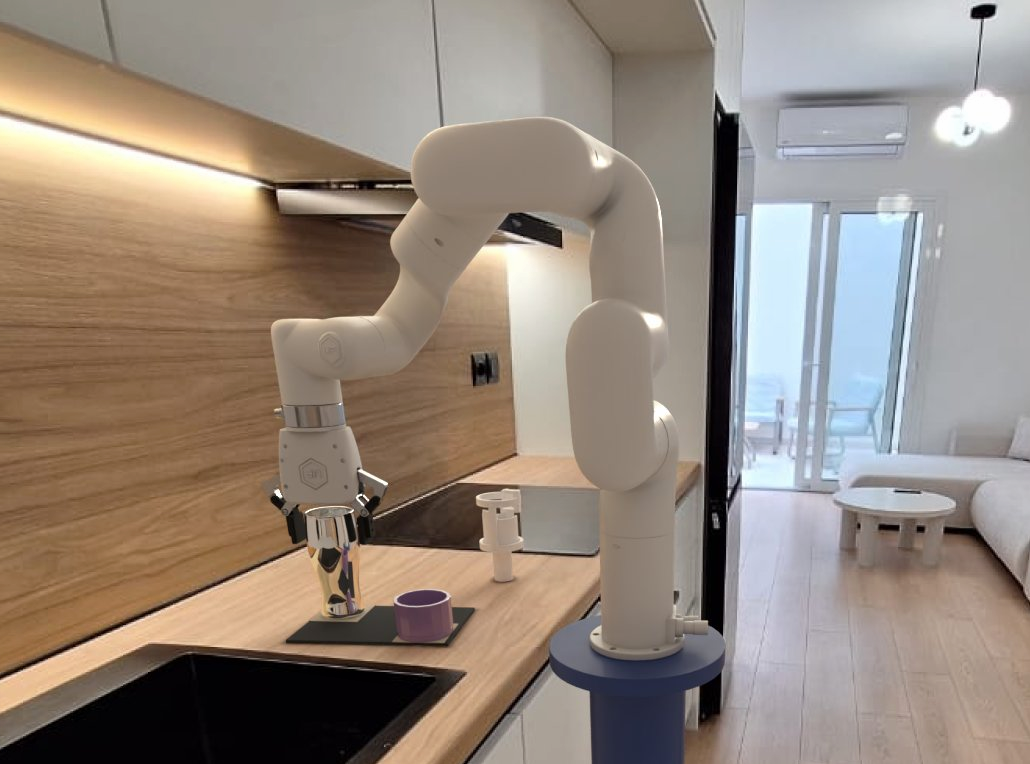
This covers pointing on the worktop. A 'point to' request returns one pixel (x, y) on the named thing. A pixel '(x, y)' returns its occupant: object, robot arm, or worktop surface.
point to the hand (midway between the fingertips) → (333, 542)
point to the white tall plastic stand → (501, 529)
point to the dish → (423, 615)
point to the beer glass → (335, 559)
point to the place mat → (369, 628)
